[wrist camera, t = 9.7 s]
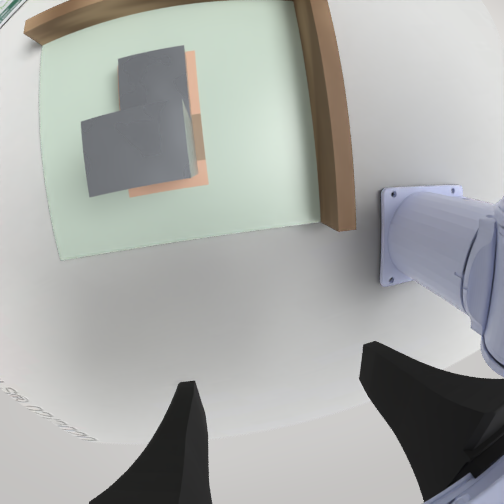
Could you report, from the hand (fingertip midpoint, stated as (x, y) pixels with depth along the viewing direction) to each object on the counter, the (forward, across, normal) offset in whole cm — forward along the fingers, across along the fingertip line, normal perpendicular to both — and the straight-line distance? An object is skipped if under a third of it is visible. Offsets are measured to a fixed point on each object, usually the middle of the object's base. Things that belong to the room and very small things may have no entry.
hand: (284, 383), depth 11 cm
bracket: (+10, +4, -12) cm, 16 cm away
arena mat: (+10, +3, -13) cm, 17 cm away
